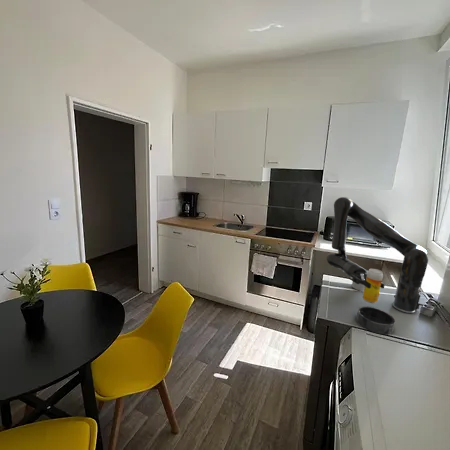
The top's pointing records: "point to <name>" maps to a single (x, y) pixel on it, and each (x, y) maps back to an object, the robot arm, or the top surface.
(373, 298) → the beer can
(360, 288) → the can
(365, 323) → the dark grey bowl
